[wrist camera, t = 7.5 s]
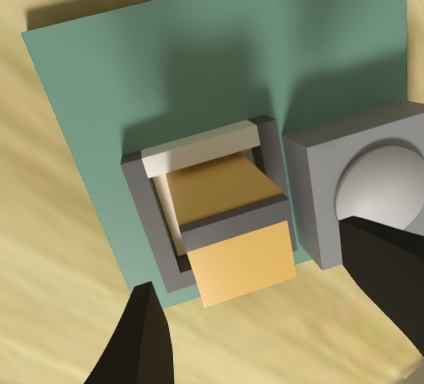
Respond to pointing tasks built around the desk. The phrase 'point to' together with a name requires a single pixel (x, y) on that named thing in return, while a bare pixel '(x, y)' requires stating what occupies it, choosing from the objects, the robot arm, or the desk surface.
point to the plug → (232, 227)
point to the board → (237, 117)
